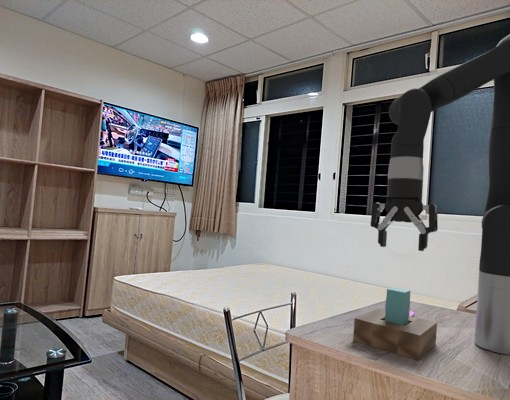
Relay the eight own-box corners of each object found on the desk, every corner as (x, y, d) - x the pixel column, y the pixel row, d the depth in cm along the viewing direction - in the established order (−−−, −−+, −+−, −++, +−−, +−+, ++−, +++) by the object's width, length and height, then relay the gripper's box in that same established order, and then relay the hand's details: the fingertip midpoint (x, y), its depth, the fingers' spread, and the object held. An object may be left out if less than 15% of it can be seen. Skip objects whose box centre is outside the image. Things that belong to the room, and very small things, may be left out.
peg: (407, 343, 85) (410, 290, 85) (401, 347, 81) (404, 292, 82) (389, 338, 87) (392, 287, 87) (383, 341, 84) (386, 289, 84)
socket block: (435, 344, 85) (437, 322, 85) (418, 360, 74) (420, 335, 75) (376, 328, 94) (377, 308, 94) (353, 340, 83) (354, 318, 83)
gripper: (442, 180, 84) (439, 251, 83) (380, 180, 93) (376, 244, 92) (434, 176, 78) (430, 253, 77) (369, 176, 87) (365, 245, 86)
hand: (401, 248), depth 85 cm, fingers open, 8 cm apart
